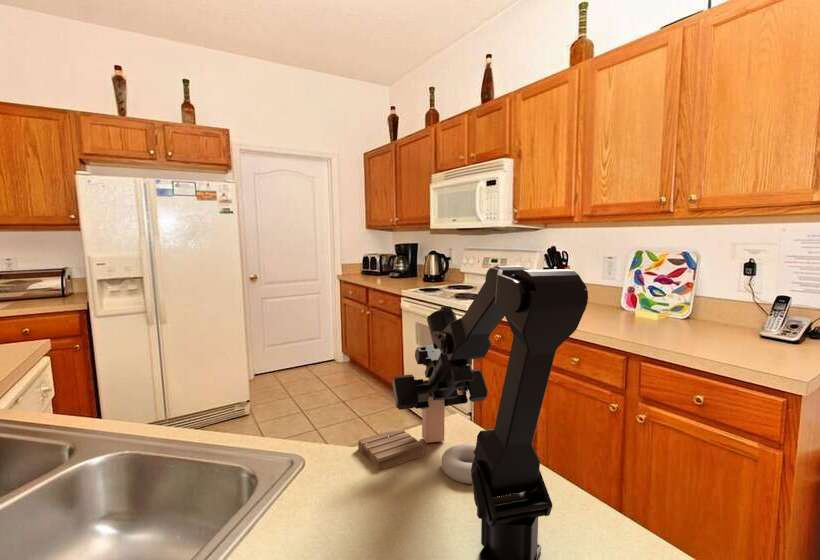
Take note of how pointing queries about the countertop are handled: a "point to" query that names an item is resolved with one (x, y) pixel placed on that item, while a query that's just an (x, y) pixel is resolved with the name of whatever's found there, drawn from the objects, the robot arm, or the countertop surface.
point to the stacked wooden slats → (390, 448)
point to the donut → (459, 462)
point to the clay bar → (433, 421)
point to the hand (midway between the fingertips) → (431, 405)
